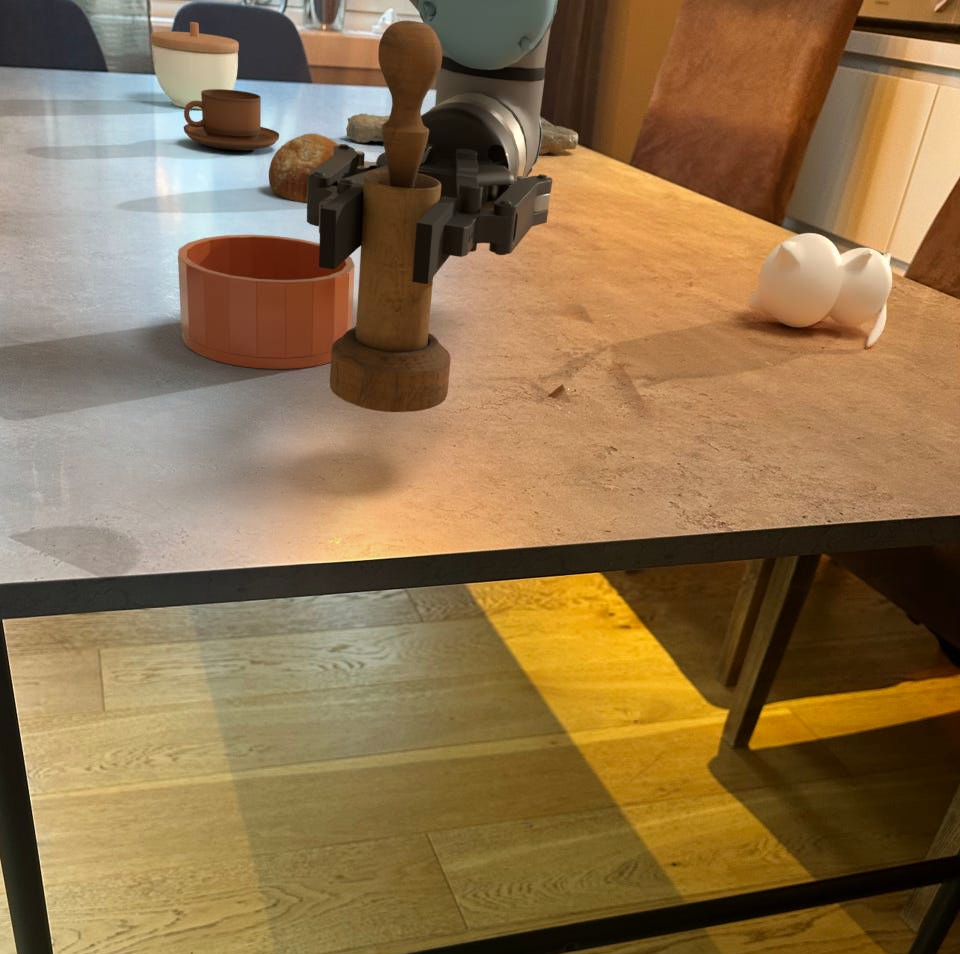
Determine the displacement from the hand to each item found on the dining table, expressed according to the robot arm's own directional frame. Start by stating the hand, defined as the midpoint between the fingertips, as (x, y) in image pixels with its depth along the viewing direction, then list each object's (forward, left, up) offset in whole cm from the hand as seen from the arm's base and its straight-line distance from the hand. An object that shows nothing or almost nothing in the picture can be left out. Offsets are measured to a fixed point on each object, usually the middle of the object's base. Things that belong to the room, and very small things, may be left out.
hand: (375, 246), depth 51 cm
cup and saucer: (-64, +80, -14) cm, 104 cm away
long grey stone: (-45, +110, -14) cm, 120 cm away
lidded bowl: (-86, +103, -14) cm, 135 cm away
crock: (-19, +20, -14) cm, 31 cm away
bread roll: (-42, +65, -14) cm, 79 cm away
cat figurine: (+16, +55, -14) cm, 59 cm away
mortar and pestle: (-1, +5, -9) cm, 11 cm away
